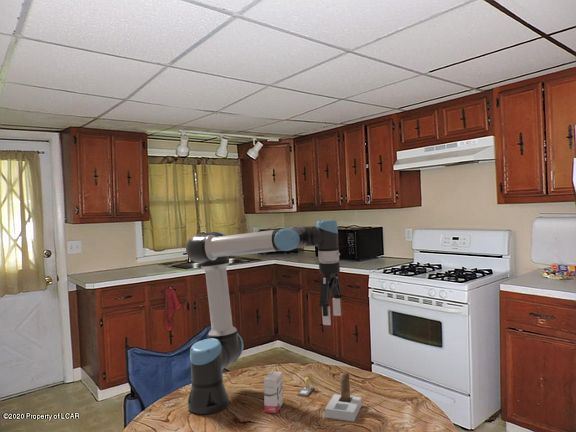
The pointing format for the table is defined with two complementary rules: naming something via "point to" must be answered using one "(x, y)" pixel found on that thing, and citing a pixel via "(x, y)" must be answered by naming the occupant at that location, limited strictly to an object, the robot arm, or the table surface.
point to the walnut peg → (345, 387)
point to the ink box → (273, 392)
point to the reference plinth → (306, 388)
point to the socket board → (343, 408)
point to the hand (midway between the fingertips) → (332, 320)
